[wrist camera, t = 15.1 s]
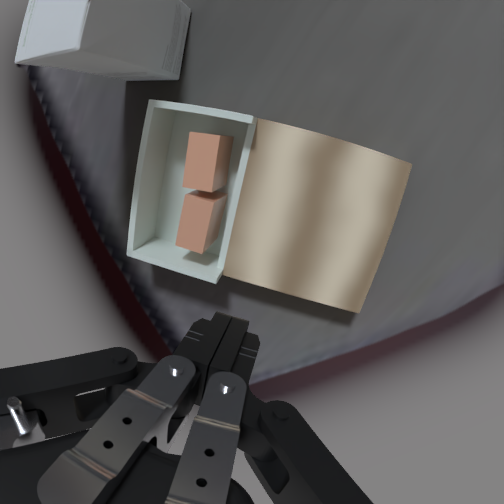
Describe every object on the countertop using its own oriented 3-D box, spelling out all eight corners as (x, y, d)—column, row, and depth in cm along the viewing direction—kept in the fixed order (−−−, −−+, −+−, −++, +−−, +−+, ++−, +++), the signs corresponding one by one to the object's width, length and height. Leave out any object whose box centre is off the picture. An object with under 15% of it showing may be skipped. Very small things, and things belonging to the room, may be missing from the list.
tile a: (220, 135, 23) (189, 131, 23) (211, 192, 25) (182, 187, 25) (233, 136, 27) (207, 133, 28) (226, 185, 29) (200, 180, 29)
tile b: (213, 202, 25) (185, 194, 25) (202, 254, 27) (175, 245, 27) (228, 193, 29) (202, 186, 29) (217, 238, 31) (193, 231, 31)
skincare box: (139, 13, 25) (39, -38, 10) (197, 8, 24) (112, -67, 9) (125, 84, 28) (8, 65, 13) (182, 84, 27) (76, 49, 12)
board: (402, 161, 26) (412, 164, 23) (355, 298, 31) (358, 313, 28) (263, 120, 27) (257, 118, 24) (230, 263, 32) (222, 274, 29)
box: (263, 120, 27) (253, 116, 22) (230, 263, 32) (215, 284, 27) (173, 104, 28) (149, 99, 23) (150, 239, 33) (126, 255, 28)
